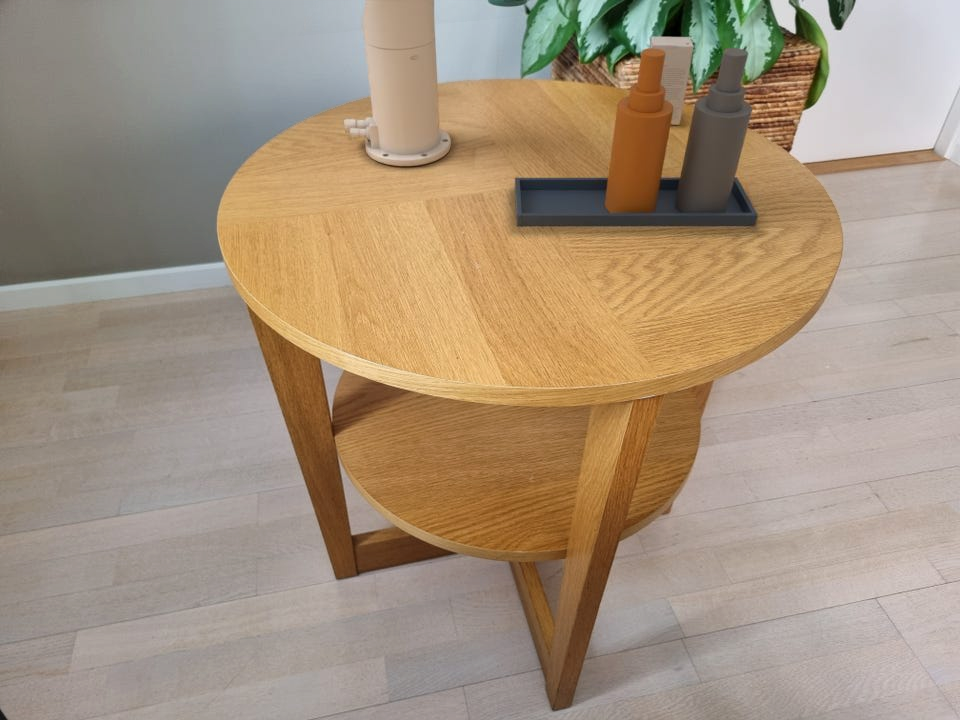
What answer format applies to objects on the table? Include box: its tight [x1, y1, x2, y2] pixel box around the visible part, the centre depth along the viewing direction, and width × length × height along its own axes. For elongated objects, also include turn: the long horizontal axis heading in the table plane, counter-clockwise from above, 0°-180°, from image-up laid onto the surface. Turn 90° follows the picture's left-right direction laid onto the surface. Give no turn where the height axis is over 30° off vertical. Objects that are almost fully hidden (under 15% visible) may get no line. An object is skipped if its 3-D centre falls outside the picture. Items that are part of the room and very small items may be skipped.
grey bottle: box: [675, 47, 753, 213], centre depth 83 cm, size 6×6×19 cm
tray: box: [514, 176, 759, 227], centre depth 89 cm, size 29×10×2 cm, turn 90°
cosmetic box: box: [648, 36, 695, 126], centre depth 107 cm, size 6×4×12 cm
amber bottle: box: [605, 47, 674, 213], centre depth 83 cm, size 6×6×19 cm
